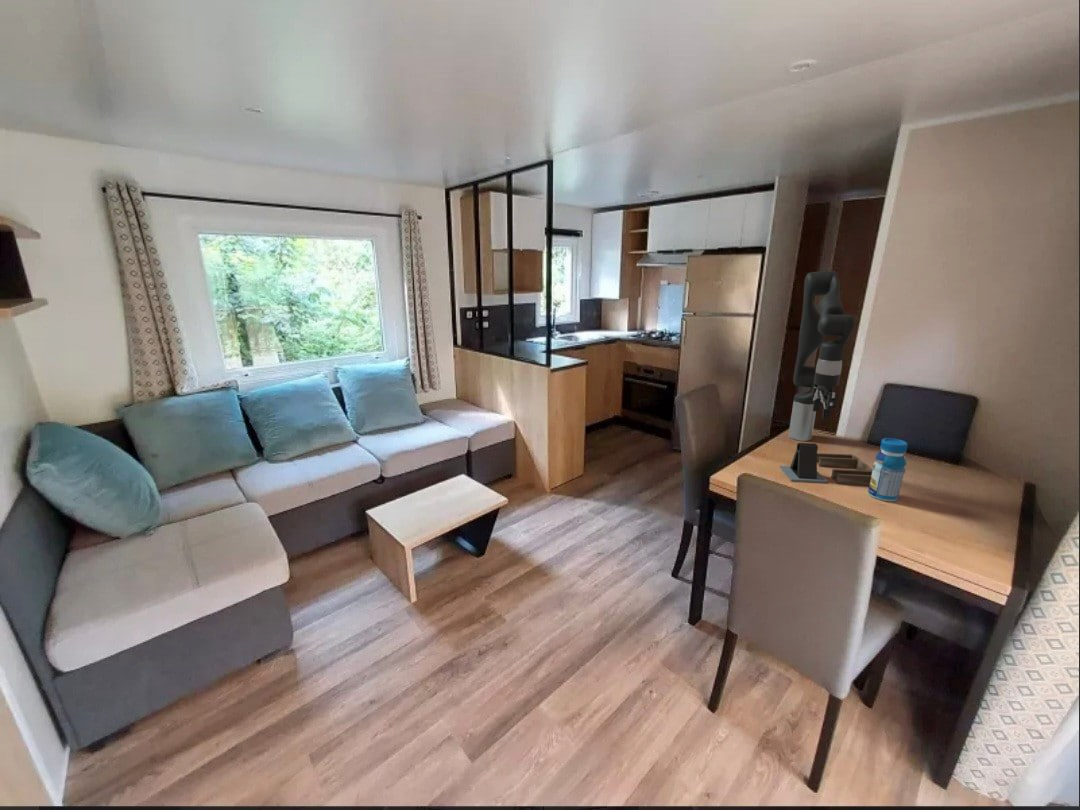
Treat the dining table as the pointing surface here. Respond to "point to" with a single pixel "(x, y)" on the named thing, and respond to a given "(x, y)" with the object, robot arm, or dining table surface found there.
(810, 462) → the phone stand
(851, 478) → the walnut rack
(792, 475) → the slate mat
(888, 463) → the blue pill bottle
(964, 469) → the dining table surface
